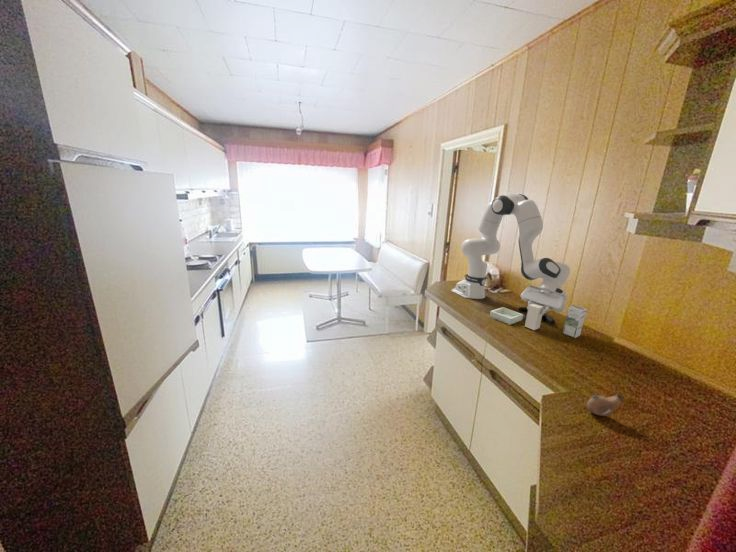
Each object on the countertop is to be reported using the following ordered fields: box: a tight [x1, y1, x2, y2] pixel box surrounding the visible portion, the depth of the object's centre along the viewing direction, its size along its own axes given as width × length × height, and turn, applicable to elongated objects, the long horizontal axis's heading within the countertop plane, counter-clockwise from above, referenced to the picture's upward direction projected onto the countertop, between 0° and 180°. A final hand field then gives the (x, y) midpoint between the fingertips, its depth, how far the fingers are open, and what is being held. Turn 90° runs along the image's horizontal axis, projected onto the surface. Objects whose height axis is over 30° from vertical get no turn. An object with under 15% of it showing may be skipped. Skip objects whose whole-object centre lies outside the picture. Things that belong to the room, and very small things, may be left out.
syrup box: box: [562, 304, 587, 339], centre depth 139 cm, size 6×6×14 cm
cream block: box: [524, 303, 545, 331], centre depth 145 cm, size 5×5×12 cm
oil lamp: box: [586, 393, 624, 417], centre depth 88 cm, size 9×4×8 cm, turn 81°
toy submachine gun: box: [518, 306, 556, 326], centre depth 161 cm, size 3×20×16 cm
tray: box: [489, 306, 524, 326], centre depth 157 cm, size 12×12×4 cm
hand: (534, 311), depth 144 cm, fingers closed on cream block, 5 cm apart
